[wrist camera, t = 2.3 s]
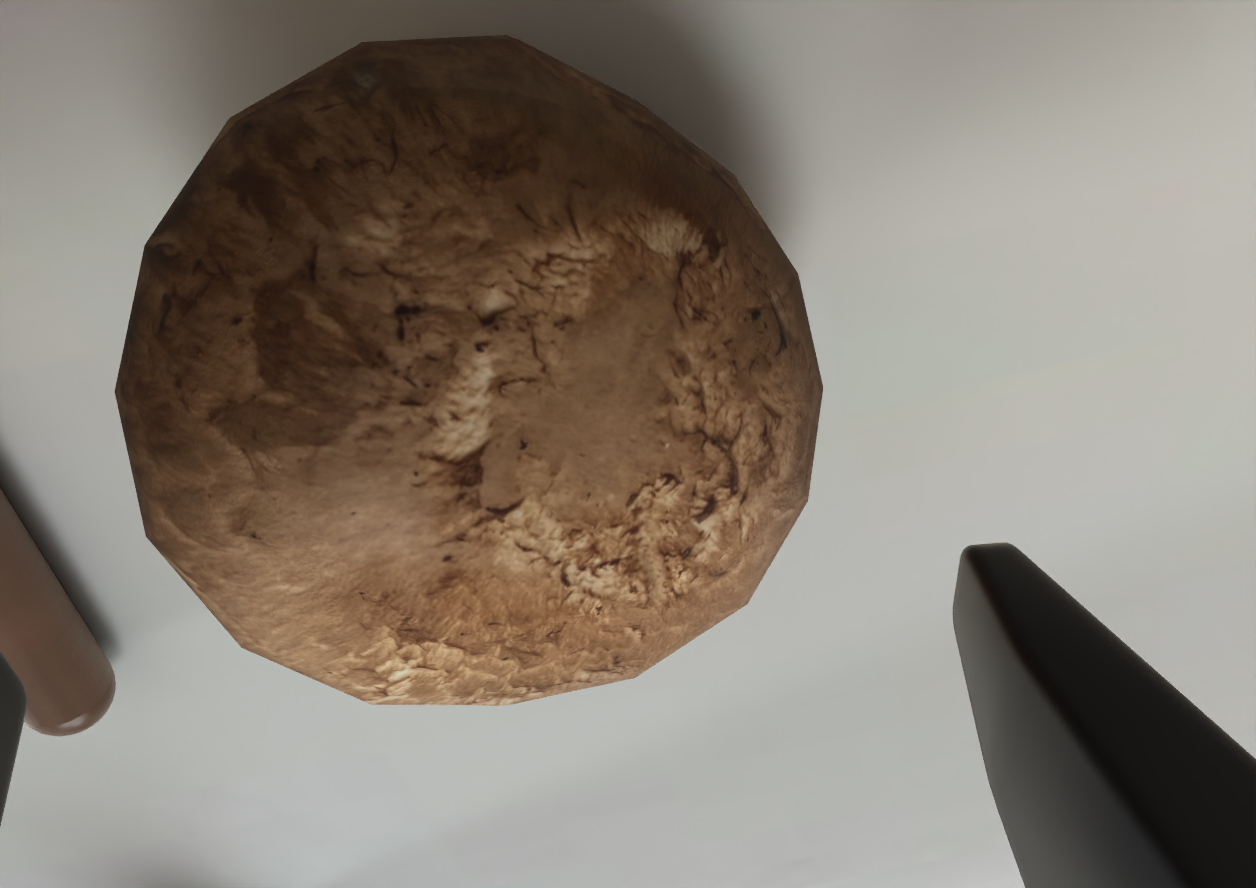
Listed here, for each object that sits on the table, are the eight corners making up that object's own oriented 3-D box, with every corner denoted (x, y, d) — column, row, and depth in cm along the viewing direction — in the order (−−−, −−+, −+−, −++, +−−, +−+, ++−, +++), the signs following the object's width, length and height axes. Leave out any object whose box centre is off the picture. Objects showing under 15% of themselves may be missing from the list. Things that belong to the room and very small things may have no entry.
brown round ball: (287, 732, 16) (351, 983, 10) (15, 208, 14) (-100, 147, 8) (740, 495, 18) (1001, 588, 12) (569, 17, 16) (789, -137, 10)
